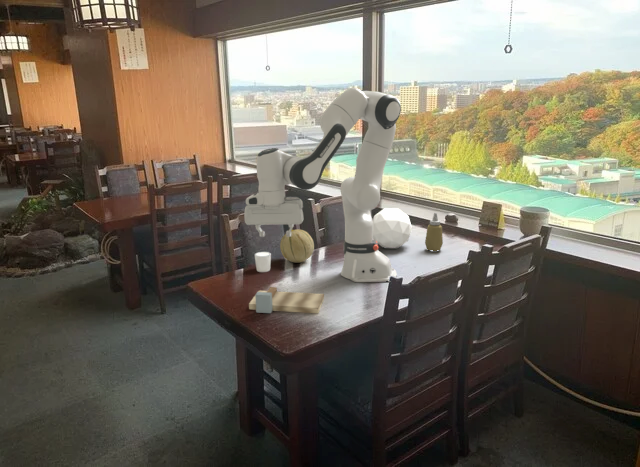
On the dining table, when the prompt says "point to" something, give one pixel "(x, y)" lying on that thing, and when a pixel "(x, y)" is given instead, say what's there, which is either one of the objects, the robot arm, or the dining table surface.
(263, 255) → the white cup
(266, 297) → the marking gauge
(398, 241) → the ball
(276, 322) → the dining table surface
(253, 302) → the maple board
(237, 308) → the dining table surface
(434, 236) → the squeeze bottle
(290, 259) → the cantaloupe
